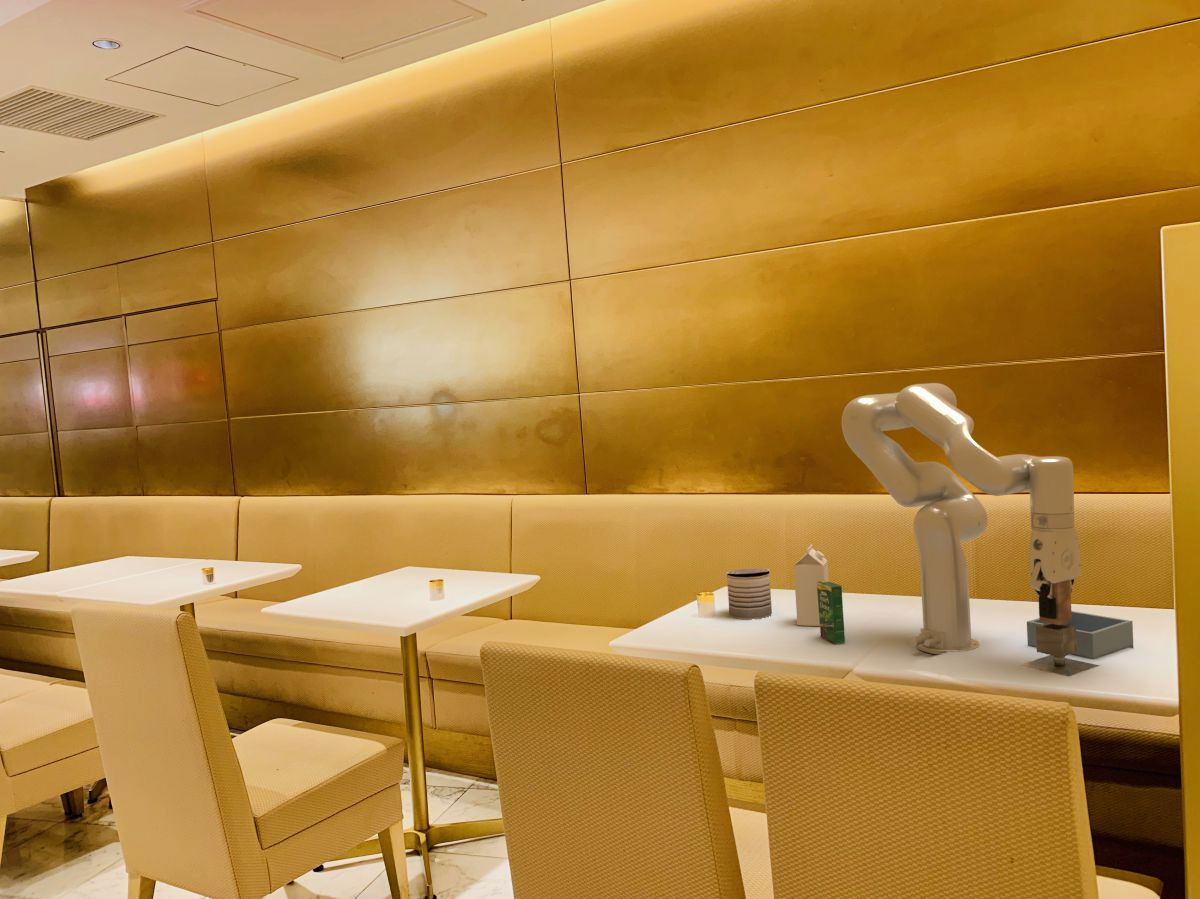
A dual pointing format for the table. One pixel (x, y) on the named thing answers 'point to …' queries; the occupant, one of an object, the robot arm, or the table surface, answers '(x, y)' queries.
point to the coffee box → (831, 611)
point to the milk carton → (809, 586)
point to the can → (749, 594)
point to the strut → (1058, 625)
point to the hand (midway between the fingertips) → (1055, 614)
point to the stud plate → (1060, 670)
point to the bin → (1093, 634)
